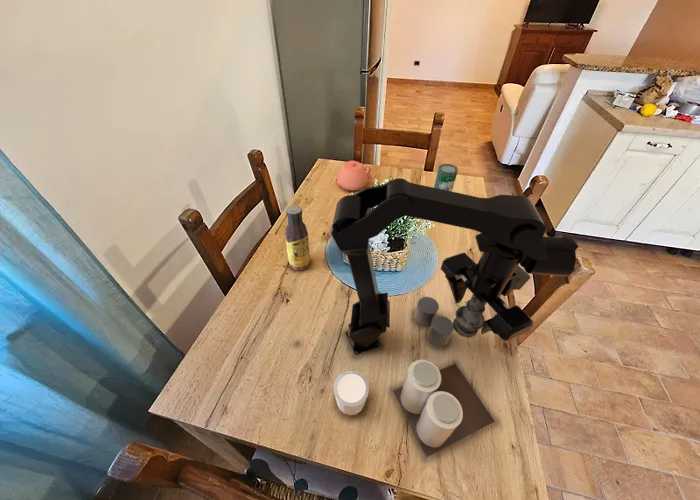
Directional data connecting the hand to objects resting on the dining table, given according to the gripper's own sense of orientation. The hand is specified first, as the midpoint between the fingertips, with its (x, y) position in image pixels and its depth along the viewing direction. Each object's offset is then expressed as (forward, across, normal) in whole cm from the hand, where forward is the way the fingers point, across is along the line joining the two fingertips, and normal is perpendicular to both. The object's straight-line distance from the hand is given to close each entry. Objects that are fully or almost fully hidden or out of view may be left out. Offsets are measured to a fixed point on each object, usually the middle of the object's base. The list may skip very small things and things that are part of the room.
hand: (470, 317), depth 64 cm
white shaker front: (+12, -12, +15) cm, 23 cm away
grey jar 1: (+13, +10, +2) cm, 16 cm away
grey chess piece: (+4, 0, 0) cm, 4 cm away
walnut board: (+13, -10, +11) cm, 19 cm away
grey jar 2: (+13, +4, +2) cm, 14 cm away
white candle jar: (+13, -1, +27) cm, 30 cm away
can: (+13, +50, -31) cm, 60 cm away
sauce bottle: (+13, +41, +25) cm, 50 cm away
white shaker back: (+12, -6, +15) cm, 20 cm away
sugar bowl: (+13, +74, -7) cm, 76 cm away
